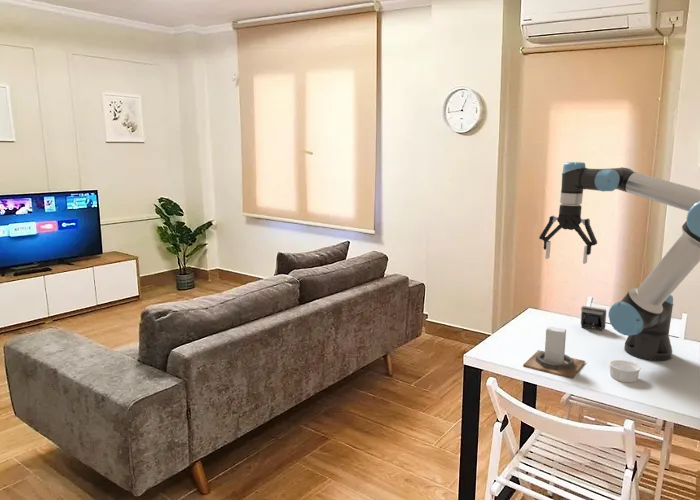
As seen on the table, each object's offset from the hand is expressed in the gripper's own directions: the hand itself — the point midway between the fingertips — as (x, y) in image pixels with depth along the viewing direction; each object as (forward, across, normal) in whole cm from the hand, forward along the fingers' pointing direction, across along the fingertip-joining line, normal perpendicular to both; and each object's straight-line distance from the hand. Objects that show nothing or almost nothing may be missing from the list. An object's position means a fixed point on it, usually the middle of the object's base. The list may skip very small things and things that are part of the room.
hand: (565, 260), depth 203 cm
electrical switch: (+31, -8, -19) cm, 37 cm away
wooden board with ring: (+31, -6, +27) cm, 41 cm away
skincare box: (+30, -6, +27) cm, 41 cm away
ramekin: (+31, -27, +24) cm, 48 cm away
